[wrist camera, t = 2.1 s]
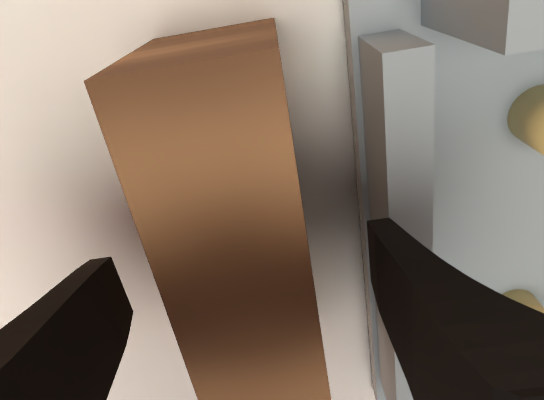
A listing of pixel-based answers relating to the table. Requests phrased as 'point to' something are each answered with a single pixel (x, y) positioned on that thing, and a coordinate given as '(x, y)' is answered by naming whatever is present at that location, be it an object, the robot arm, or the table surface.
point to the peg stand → (450, 142)
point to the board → (219, 206)
